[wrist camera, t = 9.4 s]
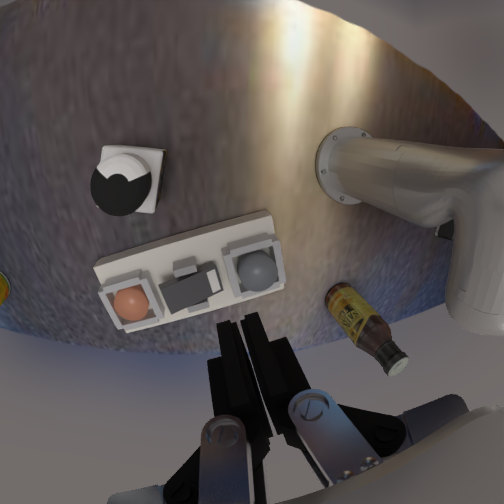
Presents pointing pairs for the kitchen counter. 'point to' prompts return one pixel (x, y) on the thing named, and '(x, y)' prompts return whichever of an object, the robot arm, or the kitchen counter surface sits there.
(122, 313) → the terracotta button
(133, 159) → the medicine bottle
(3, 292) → the supplement bottle
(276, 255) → the switch panel
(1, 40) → the kitchen counter surface
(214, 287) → the block
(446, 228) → the smartphone
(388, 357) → the sauce bottle
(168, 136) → the kitchen counter surface
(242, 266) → the slate button
